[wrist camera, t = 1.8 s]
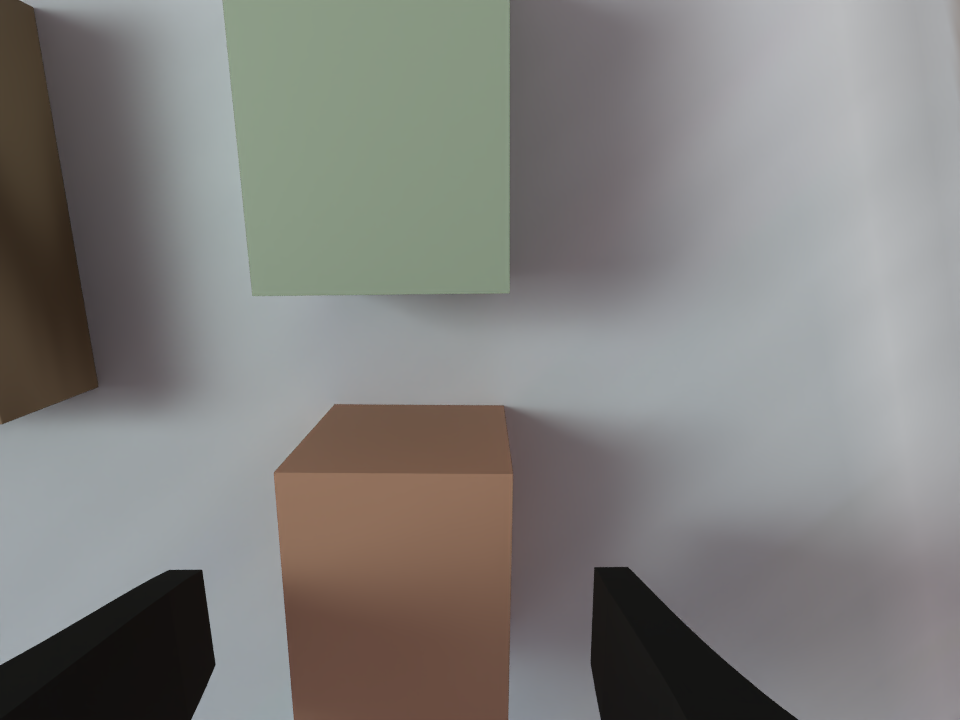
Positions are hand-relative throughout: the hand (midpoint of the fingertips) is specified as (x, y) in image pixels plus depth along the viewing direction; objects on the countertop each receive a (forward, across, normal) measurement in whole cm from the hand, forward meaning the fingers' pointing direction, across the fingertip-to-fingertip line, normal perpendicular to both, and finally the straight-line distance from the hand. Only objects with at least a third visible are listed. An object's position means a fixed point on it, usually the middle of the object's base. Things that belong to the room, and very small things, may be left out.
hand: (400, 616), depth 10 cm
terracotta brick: (+4, 0, 0) cm, 4 cm away
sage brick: (+4, 0, -9) cm, 10 cm away
